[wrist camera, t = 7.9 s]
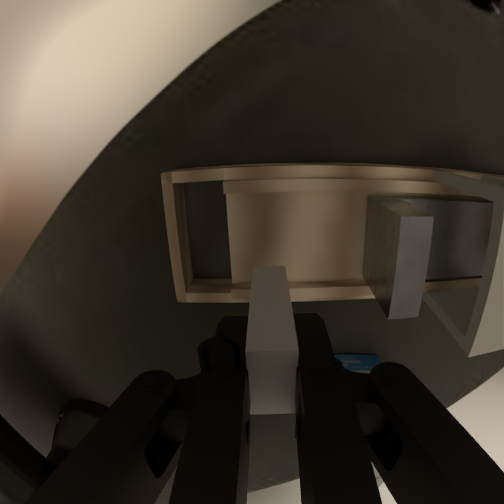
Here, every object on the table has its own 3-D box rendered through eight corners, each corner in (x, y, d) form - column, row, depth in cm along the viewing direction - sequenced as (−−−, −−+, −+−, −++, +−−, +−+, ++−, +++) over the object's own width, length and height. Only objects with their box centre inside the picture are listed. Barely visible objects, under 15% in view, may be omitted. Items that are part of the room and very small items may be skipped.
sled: (362, 276, 22) (388, 319, 16) (367, 195, 20) (401, 216, 14) (526, 266, 21) (564, 293, 15) (536, 205, 19) (580, 223, 13)
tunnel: (419, 294, 23) (468, 357, 15) (433, 170, 19) (506, 190, 11) (474, 290, 22) (527, 341, 14) (491, 176, 19) (563, 198, 11)
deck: (186, 285, 27) (173, 308, 23) (173, 169, 24) (155, 174, 20) (511, 272, 24) (533, 287, 21) (525, 179, 21) (551, 186, 17)
